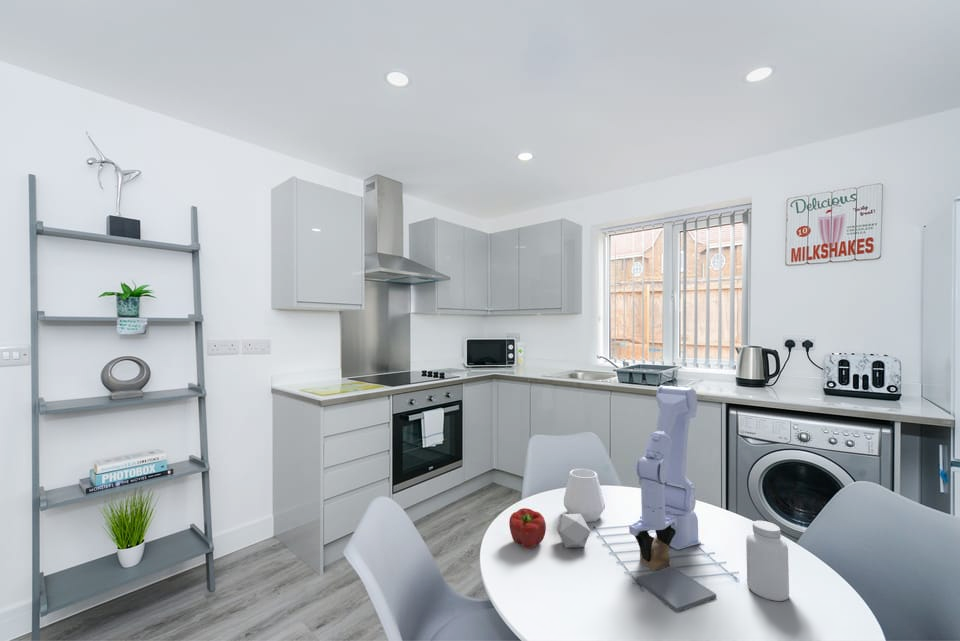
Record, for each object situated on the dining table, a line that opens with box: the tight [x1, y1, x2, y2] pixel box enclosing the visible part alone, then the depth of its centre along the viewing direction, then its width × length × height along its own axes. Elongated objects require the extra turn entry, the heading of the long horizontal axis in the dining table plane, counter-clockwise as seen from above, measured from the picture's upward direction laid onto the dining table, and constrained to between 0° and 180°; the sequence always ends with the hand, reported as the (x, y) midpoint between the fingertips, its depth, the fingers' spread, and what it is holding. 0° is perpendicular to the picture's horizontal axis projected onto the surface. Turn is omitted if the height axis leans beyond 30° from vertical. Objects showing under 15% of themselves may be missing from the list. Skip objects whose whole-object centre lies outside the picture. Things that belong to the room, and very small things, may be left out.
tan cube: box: [639, 536, 671, 571], centre depth 106 cm, size 5×5×5 cm
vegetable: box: [508, 507, 547, 549], centre depth 115 cm, size 11×10×10 cm
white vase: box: [563, 468, 606, 523], centre depth 134 cm, size 13×13×14 cm
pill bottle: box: [745, 520, 790, 602], centre depth 94 cm, size 8×8×15 cm
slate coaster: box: [635, 565, 717, 613], centre depth 95 cm, size 12×12×1 cm
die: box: [556, 513, 591, 549], centre depth 115 cm, size 8×9×10 cm
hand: (654, 557), depth 106 cm, fingers closed on tan cube, 5 cm apart
